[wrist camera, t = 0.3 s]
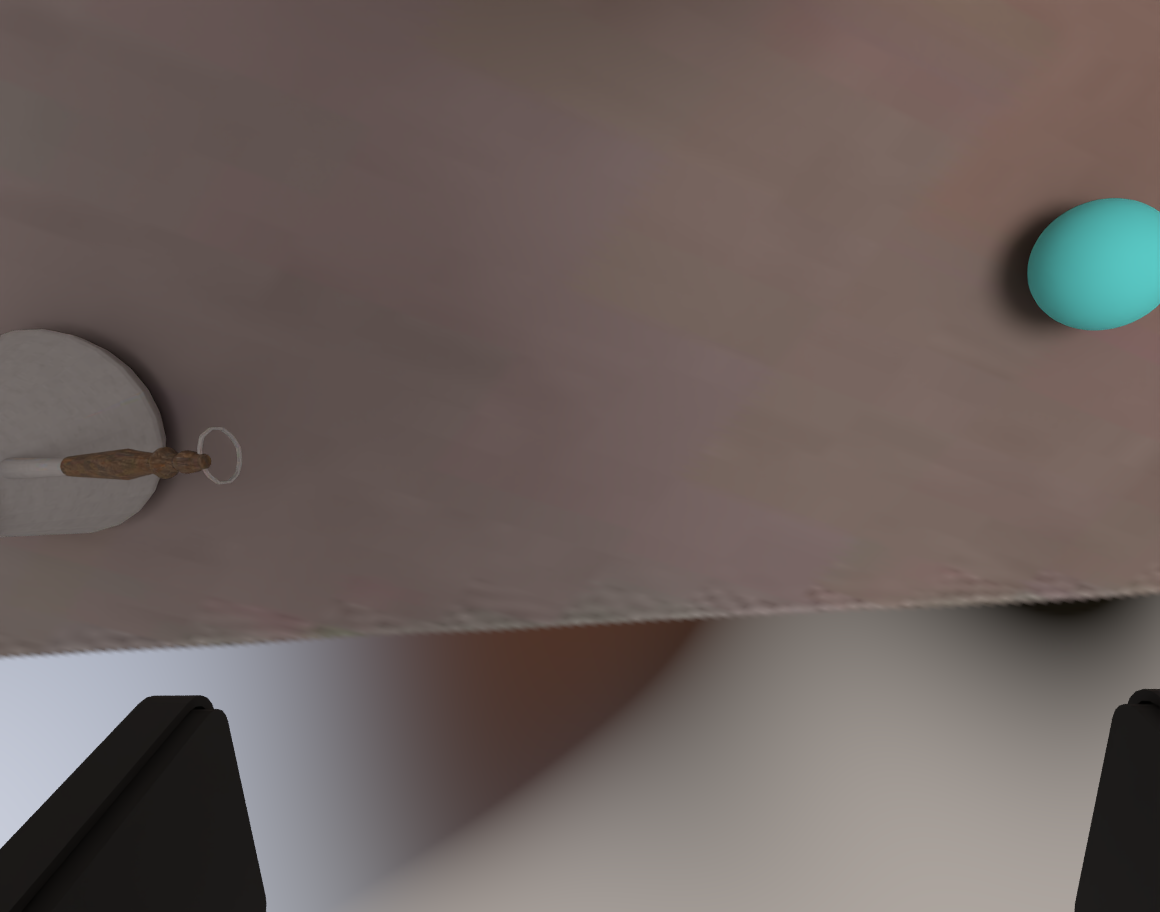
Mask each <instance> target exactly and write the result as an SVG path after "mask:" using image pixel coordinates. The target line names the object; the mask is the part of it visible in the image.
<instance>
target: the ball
mask: <svg viewBox="0 0 1160 912" xmlns="http://www.w3.org/2000/svg"><path fill="white" fill-rule="evenodd" d="M1027 277H1028V284H1029V289H1030V291H1031V294H1032V296H1033V298H1034V300H1035V301H1036V303H1037V304H1038V306H1039V307H1040V308H1041V309H1042V310H1043V311H1044V312H1045V313H1046V314H1047V315H1048V316H1049V317H1051V318H1052V319H1054V320H1055V321H1057V322H1060V323H1062V324H1064V325H1066V326H1069V327H1073V328H1077V329H1083V330H1106V329H1112V328H1117V327H1120V326H1124V325H1127V324H1129V323H1132V322H1134V321H1136V320H1138V319H1140V318H1141V317H1143V316H1145V315H1146V314H1148V313H1149V312H1151V311H1152V310H1153V309H1155V308H1156V307H1157V306H1158V305H1159V304H1160V212H1159V211H1157V210H1156V209H1154V208H1153V207H1151V206H1149V205H1146V204H1144V203H1141V202H1138V201H1135V200H1129V199H1122V198H1108V199H1100V200H1094V201H1090V202H1087V203H1084V204H1081V205H1079V206H1076V207H1074V208H1072V209H1070V210H1068V211H1067V212H1065V213H1064V214H1062V215H1061V216H1059V217H1058V218H1056V219H1055V220H1054V221H1053V222H1052V223H1050V224H1049V226H1048V227H1047V228H1046V229H1045V230H1044V231H1043V232H1042V234H1041V235H1040V236H1039V238H1038V240H1037V241H1036V243H1035V245H1034V247H1033V249H1032V251H1031V254H1030V257H1029V262H1028V270H1027Z"/></svg>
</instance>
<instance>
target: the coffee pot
mask: <svg viewBox="0 0 1160 912" xmlns="http://www.w3.org/2000/svg"><path fill="white" fill-rule="evenodd" d="M212 430H221V431H222V432H223V433H225V434H226V435H227V436H229V438H230V439H231V441H232V442H233V444H234V446H235V447H236V452H237V466H236V471H235V474H234V475H233V476H232V477H231V478H230V479H229V480H228V481H221V482H220V481H218V480H217V479H216V478H215V477H213V476H212V475H211V474H210V472H209V471H208V469H207V468H208V467H210V465H211V458H210V457H209V456H208V455H206V454H203V453H202V447H203V442H204V437H205V436H206V435H207V434H208V433H209V432H211V431H212ZM241 466H242V454H241V447H240V445H239V443H238V442H237V440H236V439H235V437H234V436H233V434H231V433H230V432H229V431H227V430H226V429H225V428H223V427H210V428H208V429H207V430H206V431H204V432H203V433H202V434H201V435H200V437H199V441H198V446H197V452H194V451H182V452H180V453H177V452H176V451H175V450H174V449H172V448H169V447H166V435H165V431H164V427H163V423H162V418H161V414H160V412H159V410H158V408H157V406H156V404H155V402H154V400H153V398H152V396H151V394H150V392H149V390H148V389H147V387H146V386H145V385H144V384H143V383H142V381H141V380H140V379H139V378H138V376H137V375H136V374H135V373H134V372H133V370H132V369H131V368H130V367H129V366H127V365H126V364H125V363H123V362H122V361H121V360H120V359H118V358H117V357H116V356H114V355H113V354H112V353H111V352H109V351H108V350H106V349H104V348H102V347H99V346H97V345H95V344H93V343H91V342H89V341H87V340H85V339H83V338H80V337H77V336H75V335H71V334H66V333H61V332H57V331H52V330H47V329H30V330H13V331H11V332H8V333H5V334H2V335H0V537H16V536H36V535H57V534H78V533H94V532H98V531H101V530H104V529H107V528H110V527H114V526H117V525H120V524H122V523H123V522H124V521H126V520H127V519H129V518H130V517H132V516H133V515H135V514H136V513H138V512H139V511H140V510H141V509H142V507H143V506H144V505H145V503H146V502H147V501H148V500H149V498H150V497H151V496H152V494H153V493H154V492H155V490H156V487H157V485H158V482H159V479H160V478H163V479H168V478H172V477H174V476H175V475H176V474H177V473H178V472H181V473H185V474H189V473H194V472H198V471H201V470H203V472H204V473H205V475H206V476H207V477H208V478H209V479H211V480H212V481H213V482H215V483H216V484H226V483H232V482H233V481H234V480H235V479H236V478H237V477H238V476H239V474H240V470H241Z"/></svg>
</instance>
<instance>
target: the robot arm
mask: <svg viewBox="0 0 1160 912" xmlns="http://www.w3.org/2000/svg"><path fill="white" fill-rule="evenodd" d="M0 912H266V897H265V892H264V887H263V882H262V877H261V873H260V868H259V863H258V859H257V854H256V850H255V845H254V840H253V835H252V831H251V827H250V822H249V817H248V812H247V807H246V804H245V798H244V794H243V789H242V784H241V780H240V775H239V770H238V766H237V761H236V757H235V752H234V747H233V742H232V738H231V733H230V728H229V724H228V720H227V717H226V715H225V714H224V712H223V711H222V710H219V709H214V708H213V705H212V703H211V702H210V701H209V699H208V698H206V697H204V696H201V695H199V696H198V695H196V696H194V695H193V696H151V697H147V698H146V699H144V700H143V701H142V702H141V703H139V704H138V705H137V706H136V707H135V708H134V709H133V710H132V711H131V712H130V713H129V715H128V716H127V717H126V718H125V719H124V720H123V721H122V722H121V723H120V724H119V725H118V726H117V727H116V728H115V729H114V730H113V732H111V733H110V735H109V736H108V737H107V738H106V739H105V740H104V741H103V742H102V743H101V744H100V745H99V746H98V747H97V748H96V749H95V750H94V751H93V752H92V753H91V754H90V755H89V757H88V758H87V759H86V760H85V761H84V762H83V763H82V764H81V765H80V766H79V767H78V768H77V769H76V770H75V771H74V772H73V773H72V774H71V775H70V776H69V777H68V779H67V780H66V781H65V782H64V783H63V784H62V785H61V786H60V787H59V788H58V789H57V790H56V791H55V792H54V793H53V794H52V795H51V796H50V798H49V799H48V800H47V801H46V802H45V803H44V804H43V805H42V806H41V807H40V808H39V809H38V810H37V811H36V812H35V813H34V814H33V815H32V816H31V817H30V818H29V819H28V821H27V822H26V823H25V824H24V825H23V826H22V827H21V828H20V829H19V830H18V831H17V832H16V833H15V834H14V835H13V836H12V837H11V839H9V841H8V842H7V843H6V844H5V845H4V846H3V847H2V848H1V849H0ZM1075 912H1160V689H1142V690H1139V691H1136V692H1135V693H1134V694H1133V695H1132V696H1131V697H1130V699H1129V702H1128V704H1123V705H1120V706H1119V707H1118V708H1117V709H1116V710H1115V712H1114V715H1113V718H1112V723H1111V728H1110V733H1109V738H1108V743H1107V748H1106V753H1105V758H1104V763H1103V767H1102V773H1101V778H1100V782H1099V787H1098V793H1097V797H1096V802H1095V807H1094V812H1093V817H1092V823H1091V827H1090V832H1089V837H1088V842H1087V847H1086V852H1085V857H1084V862H1083V867H1082V871H1081V877H1080V881H1079V887H1078V891H1077V896H1076V901H1075Z"/></svg>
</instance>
